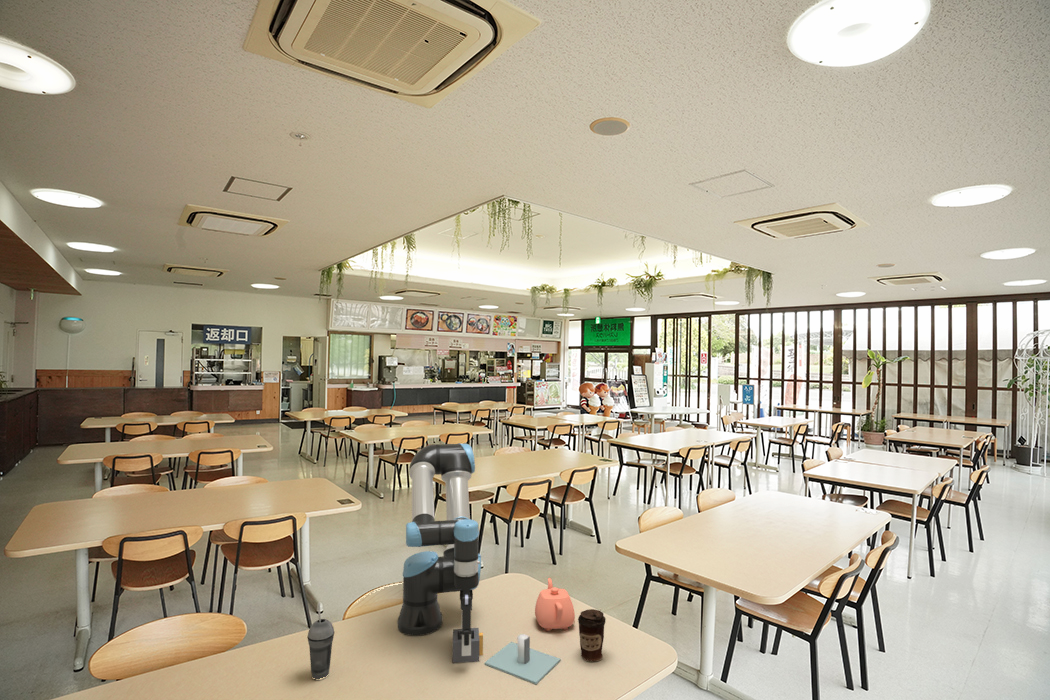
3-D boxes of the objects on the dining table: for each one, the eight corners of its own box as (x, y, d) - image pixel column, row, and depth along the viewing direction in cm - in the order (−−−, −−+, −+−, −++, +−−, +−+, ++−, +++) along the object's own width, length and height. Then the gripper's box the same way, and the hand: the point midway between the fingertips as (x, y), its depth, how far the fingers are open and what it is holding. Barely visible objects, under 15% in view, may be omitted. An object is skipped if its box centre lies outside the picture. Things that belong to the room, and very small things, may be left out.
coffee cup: (605, 666, 153) (604, 621, 154) (576, 663, 155) (576, 619, 155) (606, 650, 162) (606, 608, 162) (579, 648, 163) (579, 606, 164)
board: (484, 664, 154) (484, 638, 155) (511, 643, 166) (511, 619, 166) (536, 684, 145) (536, 656, 145) (560, 660, 156) (560, 635, 157)
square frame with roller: (452, 663, 155) (452, 642, 155) (452, 648, 163) (452, 629, 163) (483, 661, 156) (483, 640, 156) (482, 646, 164) (482, 627, 164)
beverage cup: (317, 686, 144) (318, 612, 144) (301, 678, 147) (302, 606, 148) (339, 673, 150) (340, 602, 150) (323, 665, 154) (324, 596, 154)
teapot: (566, 608, 190) (566, 575, 191) (580, 636, 170) (580, 599, 171) (530, 611, 188) (530, 577, 189) (540, 639, 168) (540, 601, 169)
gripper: (480, 588, 148) (479, 664, 147) (477, 558, 173) (476, 623, 172) (453, 589, 147) (453, 666, 146) (454, 559, 172) (454, 625, 171)
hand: (466, 643), depth 159 cm, fingers open, 13 cm apart
